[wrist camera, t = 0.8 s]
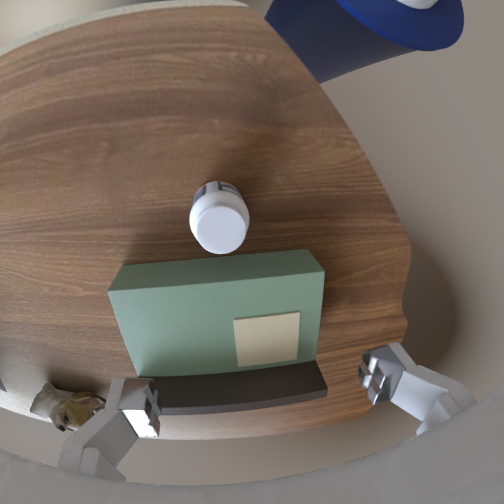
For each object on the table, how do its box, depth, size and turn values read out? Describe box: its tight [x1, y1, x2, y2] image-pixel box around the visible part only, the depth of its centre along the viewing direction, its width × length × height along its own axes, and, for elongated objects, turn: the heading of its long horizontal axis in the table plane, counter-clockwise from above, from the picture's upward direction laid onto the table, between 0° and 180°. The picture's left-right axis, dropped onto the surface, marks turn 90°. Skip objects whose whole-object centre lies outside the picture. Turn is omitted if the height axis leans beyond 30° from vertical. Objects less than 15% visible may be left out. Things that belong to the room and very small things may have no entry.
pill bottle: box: [190, 181, 249, 254], centre depth 26 cm, size 5×5×9 cm
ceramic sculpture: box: [30, 383, 107, 431], centre depth 36 cm, size 11×9×15 cm
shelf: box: [108, 249, 328, 415], centre depth 30 cm, size 14×22×11 cm, turn 92°
